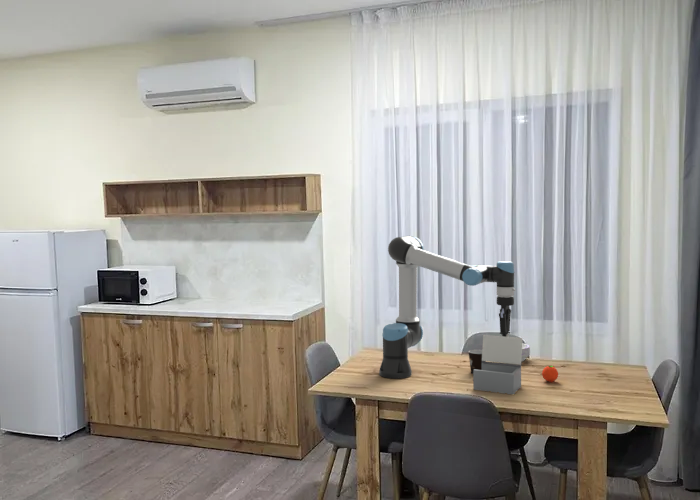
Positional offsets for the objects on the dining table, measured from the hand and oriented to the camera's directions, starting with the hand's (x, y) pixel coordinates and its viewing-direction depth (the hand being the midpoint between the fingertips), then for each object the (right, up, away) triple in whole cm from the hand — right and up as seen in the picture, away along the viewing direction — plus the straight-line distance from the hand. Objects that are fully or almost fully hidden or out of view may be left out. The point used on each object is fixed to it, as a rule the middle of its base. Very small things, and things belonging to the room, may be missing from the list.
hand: (504, 348), depth 278 cm
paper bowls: (+15, -13, +40) cm, 44 cm away
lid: (-3, 0, -5) cm, 6 cm away
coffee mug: (-9, -14, +17) cm, 24 cm away
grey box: (-6, -16, -10) cm, 20 cm away
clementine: (+20, -15, -1) cm, 25 cm away
